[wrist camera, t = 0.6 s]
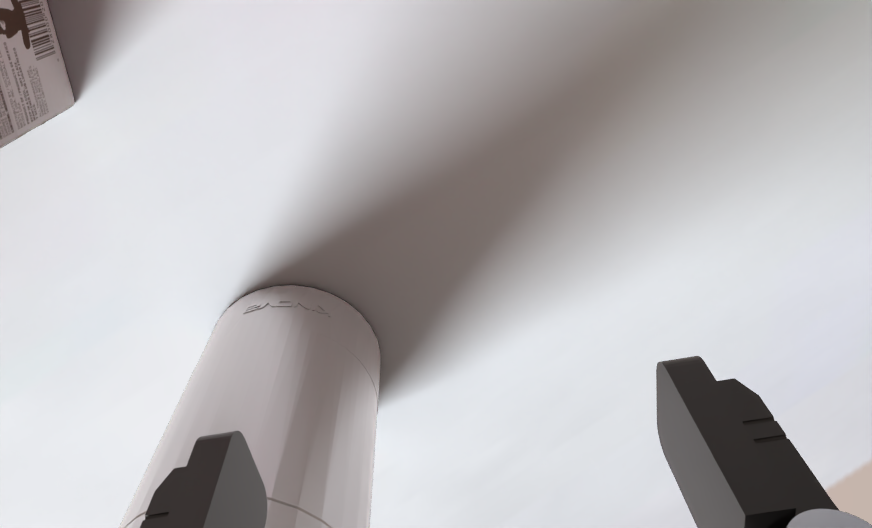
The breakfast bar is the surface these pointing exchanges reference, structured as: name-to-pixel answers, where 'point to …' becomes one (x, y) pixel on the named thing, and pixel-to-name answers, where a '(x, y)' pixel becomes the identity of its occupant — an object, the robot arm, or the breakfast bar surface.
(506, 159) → the breakfast bar surface
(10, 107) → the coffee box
